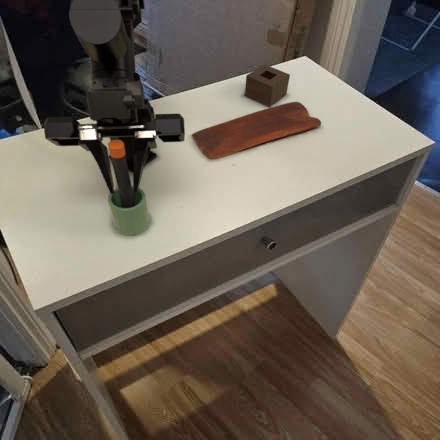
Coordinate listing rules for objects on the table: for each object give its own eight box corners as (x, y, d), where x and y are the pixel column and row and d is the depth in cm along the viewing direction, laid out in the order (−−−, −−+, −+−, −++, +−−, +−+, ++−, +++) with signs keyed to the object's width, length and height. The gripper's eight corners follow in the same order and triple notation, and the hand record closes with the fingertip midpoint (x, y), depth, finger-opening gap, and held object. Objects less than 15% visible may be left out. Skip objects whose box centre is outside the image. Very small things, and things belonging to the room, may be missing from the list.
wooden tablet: (296, 104, 86) (298, 96, 85) (323, 128, 81) (325, 120, 80) (186, 133, 79) (186, 126, 77) (209, 162, 74) (209, 154, 72)
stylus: (124, 217, 64) (106, 140, 53) (137, 214, 65) (122, 138, 53) (126, 226, 63) (108, 149, 52) (139, 223, 63) (124, 147, 52)
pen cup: (131, 241, 62) (126, 215, 57) (107, 224, 64) (100, 198, 59) (156, 221, 65) (153, 196, 60) (132, 206, 66) (127, 180, 62)
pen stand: (269, 107, 85) (272, 86, 81) (244, 96, 87) (246, 75, 84) (286, 94, 88) (290, 74, 85) (261, 84, 91) (264, 63, 87)
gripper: (19, 53, 46) (38, 192, 48) (180, 51, 47) (189, 185, 50) (50, 86, 56) (64, 197, 59) (180, 83, 58) (187, 191, 61)
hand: (124, 193), depth 57 cm, fingers open, 3 cm apart
